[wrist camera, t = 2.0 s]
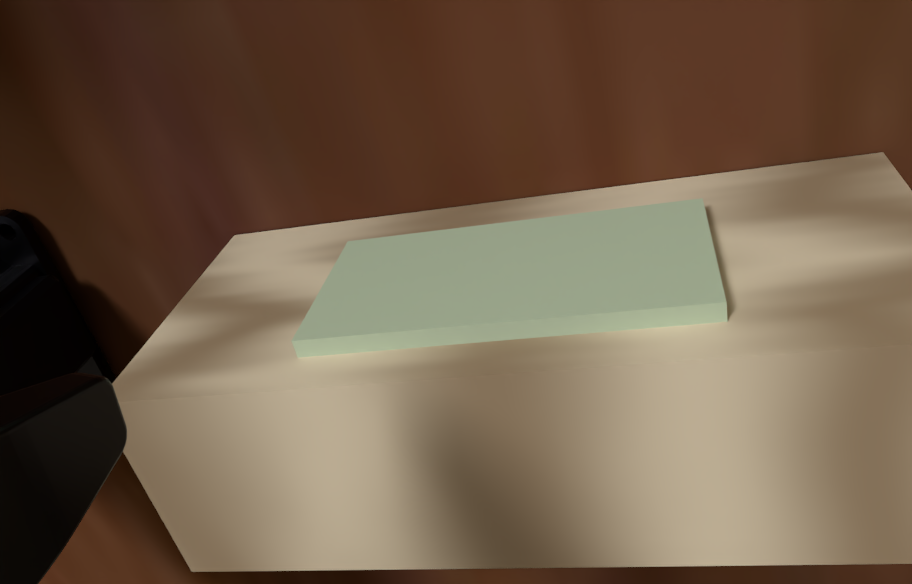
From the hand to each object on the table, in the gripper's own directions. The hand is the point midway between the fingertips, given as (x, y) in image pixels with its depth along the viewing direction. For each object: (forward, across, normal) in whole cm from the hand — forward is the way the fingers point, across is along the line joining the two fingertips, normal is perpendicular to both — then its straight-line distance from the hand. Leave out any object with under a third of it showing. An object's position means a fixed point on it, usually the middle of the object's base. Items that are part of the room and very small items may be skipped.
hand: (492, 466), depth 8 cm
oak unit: (+11, -1, -5) cm, 13 cm away
